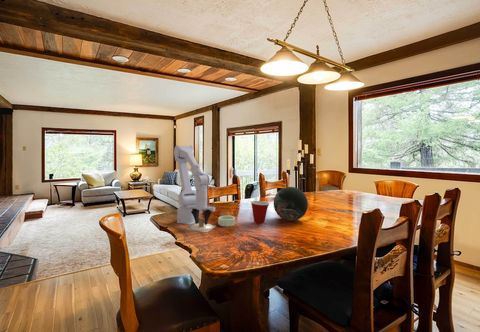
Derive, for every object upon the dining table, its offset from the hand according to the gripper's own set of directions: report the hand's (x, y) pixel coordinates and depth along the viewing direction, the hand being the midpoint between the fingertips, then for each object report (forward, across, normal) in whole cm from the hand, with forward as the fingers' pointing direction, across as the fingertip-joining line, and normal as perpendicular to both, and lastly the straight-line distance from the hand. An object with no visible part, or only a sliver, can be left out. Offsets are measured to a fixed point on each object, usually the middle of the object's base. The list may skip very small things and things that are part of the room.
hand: (201, 223), depth 139 cm
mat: (+2, 0, 0) cm, 2 cm away
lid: (+2, 0, 0) cm, 2 cm away
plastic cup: (+3, +26, +22) cm, 34 cm away
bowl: (+2, +10, +11) cm, 15 cm away
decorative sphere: (+3, +42, +33) cm, 53 cm away
